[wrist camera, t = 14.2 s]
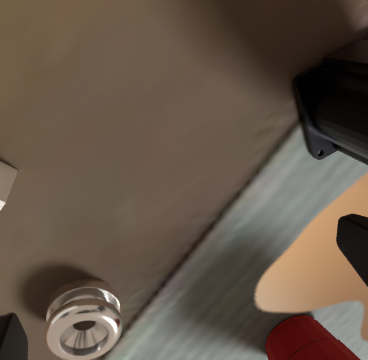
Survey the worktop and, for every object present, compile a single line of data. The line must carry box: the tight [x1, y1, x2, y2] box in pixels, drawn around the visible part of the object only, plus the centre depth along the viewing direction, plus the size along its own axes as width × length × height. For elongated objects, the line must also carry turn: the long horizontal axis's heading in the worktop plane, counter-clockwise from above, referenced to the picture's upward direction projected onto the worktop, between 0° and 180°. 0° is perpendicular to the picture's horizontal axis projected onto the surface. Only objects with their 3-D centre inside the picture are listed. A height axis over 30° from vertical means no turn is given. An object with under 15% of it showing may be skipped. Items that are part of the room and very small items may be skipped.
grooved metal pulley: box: [45, 279, 122, 360], centre depth 24 cm, size 5×3×5 cm
